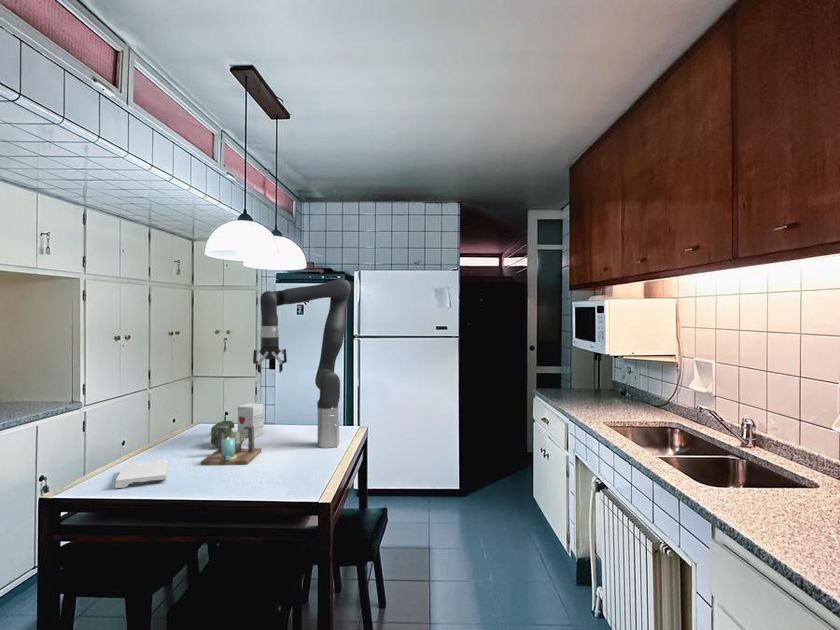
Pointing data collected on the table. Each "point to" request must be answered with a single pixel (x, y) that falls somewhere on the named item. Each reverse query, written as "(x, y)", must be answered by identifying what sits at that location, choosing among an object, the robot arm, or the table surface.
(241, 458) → the board with gray uprights
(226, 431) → the vegetable
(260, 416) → the supplement box
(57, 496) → the table surface
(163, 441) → the table surface
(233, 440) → the teal rounded body
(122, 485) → the food packaging
